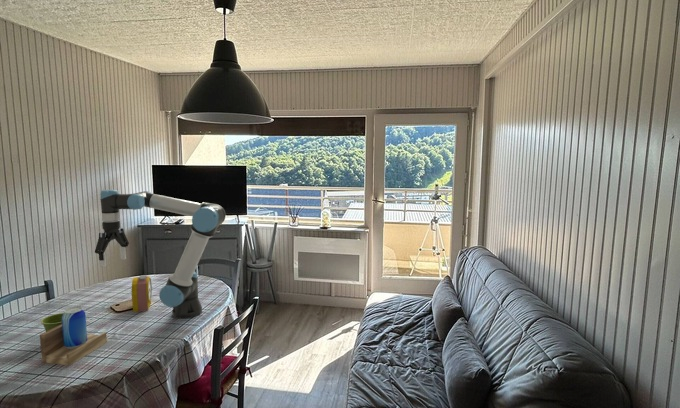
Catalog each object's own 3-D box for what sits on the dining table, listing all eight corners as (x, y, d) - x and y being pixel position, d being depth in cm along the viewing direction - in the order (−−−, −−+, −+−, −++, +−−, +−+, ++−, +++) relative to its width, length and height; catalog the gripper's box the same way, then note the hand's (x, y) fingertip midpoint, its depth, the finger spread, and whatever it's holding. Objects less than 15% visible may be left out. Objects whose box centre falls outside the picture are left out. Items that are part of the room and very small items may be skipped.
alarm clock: (149, 311, 210) (147, 279, 208) (132, 313, 207) (130, 280, 205) (152, 301, 224) (151, 271, 222) (136, 303, 221) (135, 272, 219)
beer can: (75, 351, 160) (72, 314, 158) (59, 348, 162) (56, 313, 160) (92, 341, 169) (89, 307, 167) (76, 339, 170) (73, 305, 168)
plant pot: (39, 349, 167) (37, 325, 166) (47, 338, 178) (45, 315, 177) (71, 344, 172) (69, 321, 171) (77, 333, 183) (75, 311, 181)
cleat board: (106, 342, 174) (105, 317, 173) (69, 365, 155) (67, 337, 153) (81, 339, 176) (80, 315, 175) (42, 362, 157) (39, 334, 155)
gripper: (122, 217, 201) (124, 256, 204) (83, 225, 177) (87, 269, 179) (135, 217, 200) (137, 256, 203) (98, 225, 176) (101, 270, 178)
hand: (113, 262), depth 191 cm, fingers open, 13 cm apart
